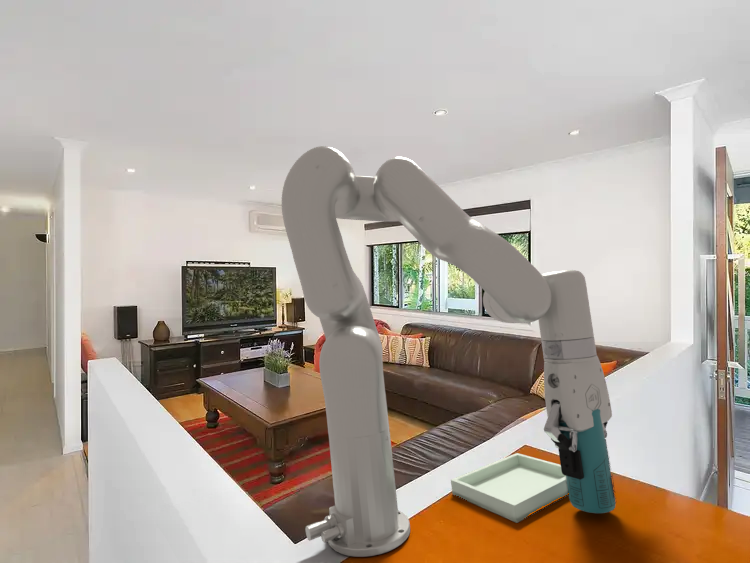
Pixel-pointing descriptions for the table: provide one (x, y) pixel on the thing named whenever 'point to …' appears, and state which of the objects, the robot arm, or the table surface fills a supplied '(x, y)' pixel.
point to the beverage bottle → (592, 471)
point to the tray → (512, 486)
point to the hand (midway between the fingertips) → (585, 468)
